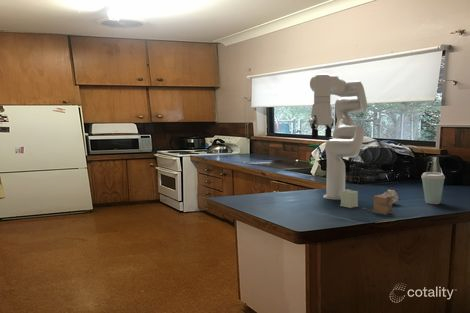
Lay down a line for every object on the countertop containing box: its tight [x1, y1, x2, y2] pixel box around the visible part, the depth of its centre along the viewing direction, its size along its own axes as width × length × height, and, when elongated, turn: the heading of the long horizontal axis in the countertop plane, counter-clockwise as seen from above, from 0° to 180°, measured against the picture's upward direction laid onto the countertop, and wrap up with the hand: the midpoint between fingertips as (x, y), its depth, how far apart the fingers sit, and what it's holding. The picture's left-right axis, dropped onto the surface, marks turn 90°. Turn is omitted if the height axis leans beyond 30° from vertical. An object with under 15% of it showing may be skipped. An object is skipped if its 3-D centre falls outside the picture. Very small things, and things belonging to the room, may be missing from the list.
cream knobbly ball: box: [379, 187, 401, 205], centre depth 193 cm, size 9×8×10 cm
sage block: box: [340, 189, 359, 208], centre depth 189 cm, size 6×6×7 cm
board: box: [339, 204, 394, 216], centre depth 182 cm, size 14×24×1 cm, turn 39°
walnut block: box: [373, 194, 393, 215], centre depth 175 cm, size 6×6×7 cm
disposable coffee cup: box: [421, 171, 446, 205], centre depth 196 cm, size 11×11×15 cm
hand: (321, 137), depth 187 cm, fingers open, 9 cm apart
